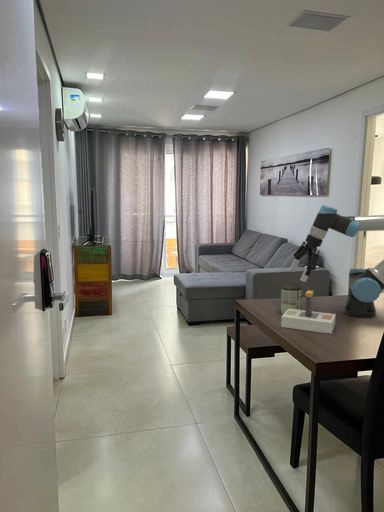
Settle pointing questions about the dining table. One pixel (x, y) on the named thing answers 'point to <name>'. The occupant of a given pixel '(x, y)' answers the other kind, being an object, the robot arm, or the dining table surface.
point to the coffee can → (290, 297)
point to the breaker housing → (308, 321)
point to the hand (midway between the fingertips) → (297, 275)
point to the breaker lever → (309, 302)
